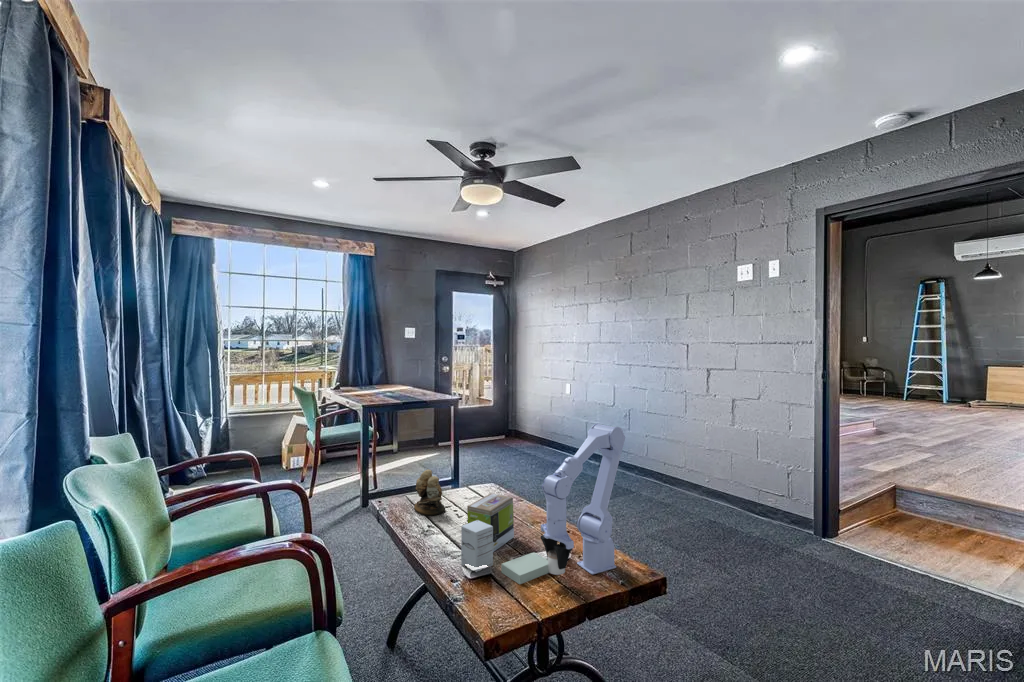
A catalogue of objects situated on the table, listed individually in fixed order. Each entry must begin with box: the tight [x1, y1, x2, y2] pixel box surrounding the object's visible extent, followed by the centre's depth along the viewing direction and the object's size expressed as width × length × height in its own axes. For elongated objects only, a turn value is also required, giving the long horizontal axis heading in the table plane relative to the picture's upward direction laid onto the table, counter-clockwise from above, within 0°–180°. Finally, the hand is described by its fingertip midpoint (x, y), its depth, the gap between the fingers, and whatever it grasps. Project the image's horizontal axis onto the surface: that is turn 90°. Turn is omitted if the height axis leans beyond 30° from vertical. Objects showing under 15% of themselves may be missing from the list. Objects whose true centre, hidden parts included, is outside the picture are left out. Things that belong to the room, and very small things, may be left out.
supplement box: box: [460, 520, 494, 567], centre depth 149 cm, size 7×7×13 cm
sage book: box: [500, 552, 550, 585], centre depth 145 cm, size 13×9×3 cm
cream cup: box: [547, 549, 566, 576], centre depth 138 cm, size 5×5×5 cm
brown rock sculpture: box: [413, 469, 446, 517], centre depth 198 cm, size 18×12×17 cm, turn 34°
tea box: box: [466, 493, 515, 553], centre depth 165 cm, size 15×10×15 cm, turn 149°
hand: (556, 564), depth 138 cm, fingers closed on cream cup, 5 cm apart
